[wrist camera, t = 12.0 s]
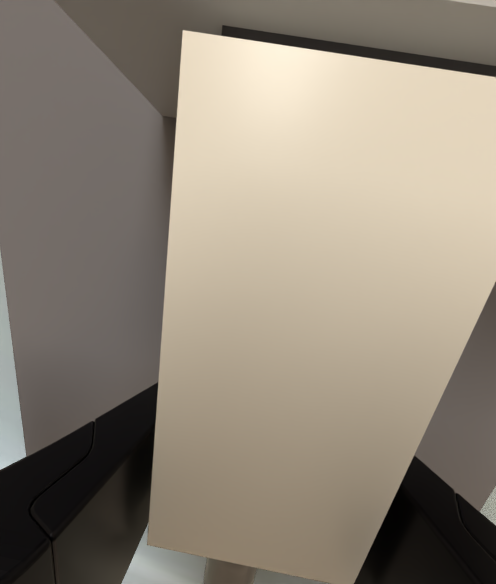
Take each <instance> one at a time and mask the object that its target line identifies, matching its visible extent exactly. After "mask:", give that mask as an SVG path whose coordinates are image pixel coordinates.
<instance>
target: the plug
mask: <svg viewBox="0 0 496 584" xmlns="http://www.w3.org/2000/svg"><path fill="white" fill-rule="evenodd" d="M495 282H496V77H491V76H484V75H477V74H471V73H464V72H458V71H451V70H444V69H438V68H431V67H424V66H418V65H411V64H405V63H398V62H391V61H385V60H378V59H371V58H365V57H358V56H351V55H345V54H338V53H332V52H325V51H318V50H312V49H305V48H298V47H292V46H285V45H278V44H272V43H265V42H259V41H252V40H245V39H239V38H232V37H225V36H219V35H212V34H206V33H199V32H192V31H186V30H183V34H182V49H181V63H180V78H179V92H178V107H177V121H176V135H175V150H174V164H173V179H172V193H171V208H170V222H169V237H168V251H167V265H166V280H165V294H164V309H163V323H162V338H161V352H160V366H159V381H158V395H157V410H156V424H155V439H154V453H153V468H152V482H151V496H150V511H149V525H148V540H147V545H150V546H155V547H160V548H164V549H169V550H174V551H179V552H183V553H188V554H193V555H198V556H202V557H207V562H206V567H205V573H204V584H253V582H254V578H255V574H256V571H257V568H259V569H264V570H269V571H274V572H278V573H283V574H288V575H293V576H297V577H302V578H307V579H312V580H316V581H321V582H326V583H331V584H354V582H355V580H356V578H357V576H358V574H359V572H360V569H361V567H362V565H363V563H364V561H365V559H366V557H367V555H368V552H369V550H370V548H371V546H372V544H373V542H374V540H375V538H376V535H377V533H378V531H379V529H380V527H381V525H382V523H383V520H384V518H385V516H386V514H387V512H388V510H389V508H390V506H391V503H392V501H393V499H394V497H395V495H396V493H397V491H398V489H399V486H400V484H401V482H402V480H403V478H404V476H405V474H406V471H407V469H408V467H409V465H410V463H411V461H412V459H413V457H414V454H415V452H416V450H417V448H418V446H419V444H420V442H421V439H422V437H423V435H424V433H425V431H426V429H427V427H428V425H429V422H430V420H431V418H432V416H433V414H434V412H435V410H436V408H437V405H438V403H439V401H440V399H441V397H442V395H443V393H444V390H445V388H446V386H447V384H448V382H449V380H450V378H451V376H452V373H453V371H454V369H455V367H456V365H457V363H458V361H459V359H460V356H461V354H462V352H463V350H464V348H465V346H466V344H467V341H468V339H469V337H470V335H471V333H472V331H473V329H474V327H475V324H476V322H477V320H478V318H479V316H480V314H481V312H482V310H483V307H484V305H485V303H486V301H487V299H488V297H489V295H490V292H491V290H492V288H493V286H494V284H495Z"/></svg>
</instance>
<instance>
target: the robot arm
mask: <svg viewBox="0 0 496 584" xmlns="http://www.w3.org/2000/svg"><path fill="white" fill-rule="evenodd" d="M157 395H158V382H157V383H155V384H154V385H152V386H150V387H149V388H147V389H145V390H143V391H142V392H140V393H138V394H137V395H135V396H133V397H132V398H130V399H128V400H126V401H125V402H123V403H121V404H120V405H118V406H116V407H114V408H113V409H111V410H109V411H108V412H106V413H104V414H103V415H101V416H99V417H97V418H96V419H95V420H94V421H90V422H89V423H87V424H85V425H84V426H82V427H80V428H78V429H77V430H75V431H73V432H71V433H70V434H68V435H66V436H64V437H62V438H61V439H59V440H57V441H55V442H54V443H52V444H50V445H48V446H46V447H44V448H42V449H40V450H38V451H36V452H35V453H33V454H31V455H29V456H27V457H25V458H23V459H21V460H19V461H17V462H15V463H13V464H11V465H9V466H7V467H5V468H3V469H1V470H0V584H121V583H122V581H123V579H124V576H125V574H126V572H127V570H128V567H129V565H130V563H131V560H132V558H133V556H134V554H135V551H136V549H137V547H138V545H139V542H140V540H141V538H142V536H143V533H144V531H145V529H146V527H147V524H148V522H149V511H150V496H151V482H152V468H153V453H154V439H155V424H156V410H157ZM354 584H496V526H495V525H494V524H493V523H492V522H491V521H490V520H488V519H487V518H486V517H485V516H484V515H483V514H481V513H480V512H479V511H478V510H477V509H476V508H474V507H473V506H472V505H471V504H470V503H469V502H468V501H467V500H465V499H464V498H463V497H462V496H461V495H460V494H458V493H455V491H454V489H453V488H452V487H450V486H449V485H448V484H447V483H446V482H445V481H444V480H442V479H441V478H440V477H439V476H438V475H437V474H436V473H434V472H433V471H432V470H431V469H430V468H429V467H428V466H426V465H425V464H424V463H423V462H422V461H421V460H420V459H419V458H417V457H416V456H415V455H414V457H413V459H412V461H411V463H410V465H409V467H408V469H407V471H406V474H405V476H404V478H403V480H402V482H401V484H400V486H399V489H398V491H397V493H396V495H395V497H394V499H393V501H392V503H391V506H390V508H389V510H388V512H387V514H386V516H385V518H384V520H383V523H382V525H381V527H380V529H379V531H378V533H377V535H376V538H375V540H374V542H373V544H372V546H371V548H370V550H369V552H368V555H367V557H366V559H365V561H364V563H363V565H362V567H361V569H360V572H359V574H358V576H357V578H356V580H355V582H354Z"/></svg>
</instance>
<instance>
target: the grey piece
mask: <svg viewBox="0 0 496 584" xmlns="http://www.w3.org/2000/svg"><path fill="white" fill-rule="evenodd" d="M183 30H186V31H192V32H199V33H206V34H212V35H219V36H225V37H232V38H239V39H245V40H252V41H259V42H265V43H272V44H278V45H285V46H292V47H298V48H305V49H312V50H318V51H325V52H332V53H338V54H345V55H351V56H358V57H365V58H371V59H378V60H385V61H391V62H398V63H405V64H411V65H418V66H424V67H431V68H438V69H444V70H451V71H458V72H464V73H471V74H477V75H484V76H491V77H496V0H0V250H1V258H2V266H3V274H4V282H5V289H6V297H7V305H8V313H9V321H10V329H11V337H12V345H13V353H14V361H15V369H16V377H17V385H18V393H19V401H20V409H21V417H22V425H23V433H24V441H25V449H26V457H27V456H29V455H31V454H33V453H35V452H36V451H38V450H40V449H42V448H44V447H46V446H48V445H50V444H52V443H54V442H55V441H57V440H59V439H61V438H62V437H64V436H66V435H68V434H70V433H71V432H73V431H75V430H77V429H78V428H80V427H82V426H84V425H85V424H87V423H89V422H90V421H94V420H95V419H96V418H97V417H99V416H101V415H103V414H104V413H106V412H108V411H109V410H111V409H113V408H114V407H116V406H118V405H120V404H121V403H123V402H125V401H126V400H128V399H130V398H132V397H133V396H135V395H137V394H138V393H140V392H142V391H143V390H145V389H147V388H149V387H150V386H152V385H154V384H155V383H157V382H158V381H159V366H160V352H161V338H162V323H163V309H164V294H165V280H166V265H167V251H168V237H169V222H170V208H171V193H172V179H173V164H174V150H175V135H176V121H177V107H178V92H179V78H180V63H181V49H182V34H183ZM414 455H415V456H416V457H417V458H419V459H420V460H421V461H422V462H423V463H424V464H425V465H426V466H428V467H429V468H430V469H431V470H432V471H433V472H434V473H436V474H437V475H438V476H439V477H440V478H441V479H442V480H444V481H445V482H446V483H447V484H448V485H449V486H450V487H452V488H453V489H454V491H455V493H458V494H460V495H461V496H462V497H463V498H464V499H465V500H467V501H468V502H469V503H470V504H471V505H472V506H473V507H474V508H476V509H477V510H478V511H480V510H481V508H482V507H483V505H484V503H485V502H486V500H487V499H488V497H489V495H490V494H491V492H492V491H493V489H494V487H495V486H496V282H495V284H494V286H493V288H492V290H491V292H490V295H489V297H488V299H487V301H486V303H485V305H484V307H483V310H482V312H481V314H480V316H479V318H478V320H477V322H476V324H475V327H474V329H473V331H472V333H471V335H470V337H469V339H468V341H467V344H466V346H465V348H464V350H463V352H462V354H461V356H460V359H459V361H458V363H457V365H456V367H455V369H454V371H453V373H452V376H451V378H450V380H449V382H448V384H447V386H446V388H445V390H444V393H443V395H442V397H441V399H440V401H439V403H438V405H437V408H436V410H435V412H434V414H433V416H432V418H431V420H430V422H429V425H428V427H427V429H426V431H425V433H424V435H423V437H422V439H421V442H420V444H419V446H418V448H417V450H416V452H415V454H414Z"/></svg>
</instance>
